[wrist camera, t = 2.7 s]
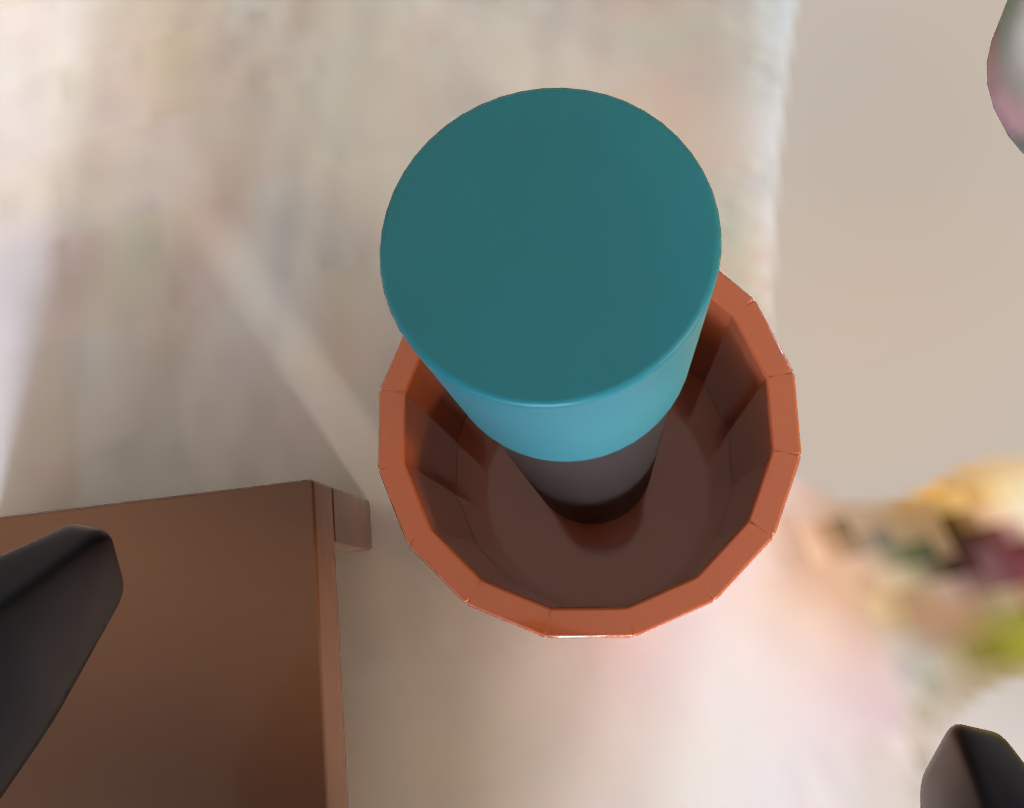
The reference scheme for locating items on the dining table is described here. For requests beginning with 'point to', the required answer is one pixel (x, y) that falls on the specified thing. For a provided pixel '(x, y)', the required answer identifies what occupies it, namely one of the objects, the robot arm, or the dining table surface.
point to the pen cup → (621, 542)
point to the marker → (557, 284)
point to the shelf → (206, 655)
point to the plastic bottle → (1008, 71)
